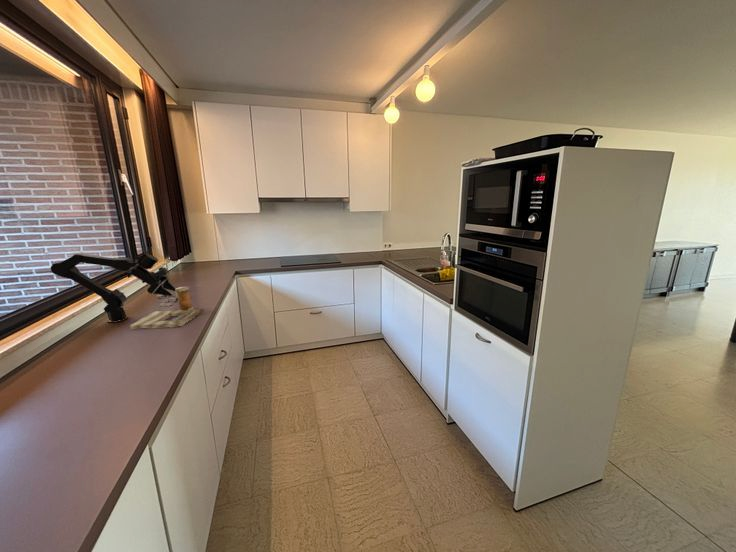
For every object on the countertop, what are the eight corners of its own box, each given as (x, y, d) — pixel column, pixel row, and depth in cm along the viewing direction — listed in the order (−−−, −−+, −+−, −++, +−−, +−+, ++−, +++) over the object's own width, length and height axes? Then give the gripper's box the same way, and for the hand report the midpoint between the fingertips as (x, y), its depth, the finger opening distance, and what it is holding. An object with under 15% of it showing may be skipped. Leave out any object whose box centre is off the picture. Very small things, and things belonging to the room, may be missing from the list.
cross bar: (172, 322, 146) (171, 319, 146) (190, 310, 162) (189, 307, 162) (176, 322, 147) (175, 319, 146) (193, 310, 162) (193, 307, 162)
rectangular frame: (130, 329, 146) (129, 325, 145) (155, 315, 163) (154, 311, 163) (181, 326, 146) (180, 323, 146) (200, 313, 164) (199, 309, 163)
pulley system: (183, 293, 204) (156, 297, 195) (182, 286, 203) (155, 290, 194) (190, 304, 184) (161, 309, 174) (189, 297, 182) (159, 302, 173)
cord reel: (177, 313, 165) (172, 290, 162) (183, 308, 171) (179, 286, 168) (189, 312, 165) (184, 289, 162) (195, 308, 171) (191, 286, 168)
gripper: (149, 267, 149) (179, 285, 156) (160, 260, 167) (187, 277, 173) (134, 284, 149) (165, 302, 155) (146, 276, 166) (174, 292, 172)
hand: (173, 292), depth 164 cm, fingers open, 9 cm apart
